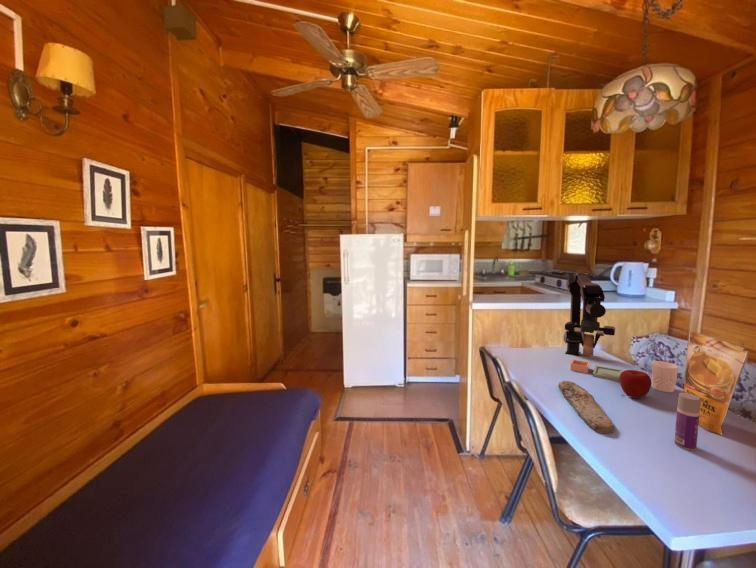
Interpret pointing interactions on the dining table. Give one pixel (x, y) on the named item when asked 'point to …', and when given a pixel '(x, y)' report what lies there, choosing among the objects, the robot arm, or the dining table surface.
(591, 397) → the french baguette
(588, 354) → the dowel
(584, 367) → the holder
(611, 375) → the tray
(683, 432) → the container
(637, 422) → the dining table surface
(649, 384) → the apple
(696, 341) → the pancake mix bag
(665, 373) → the pink cylinder
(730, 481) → the dining table surface
